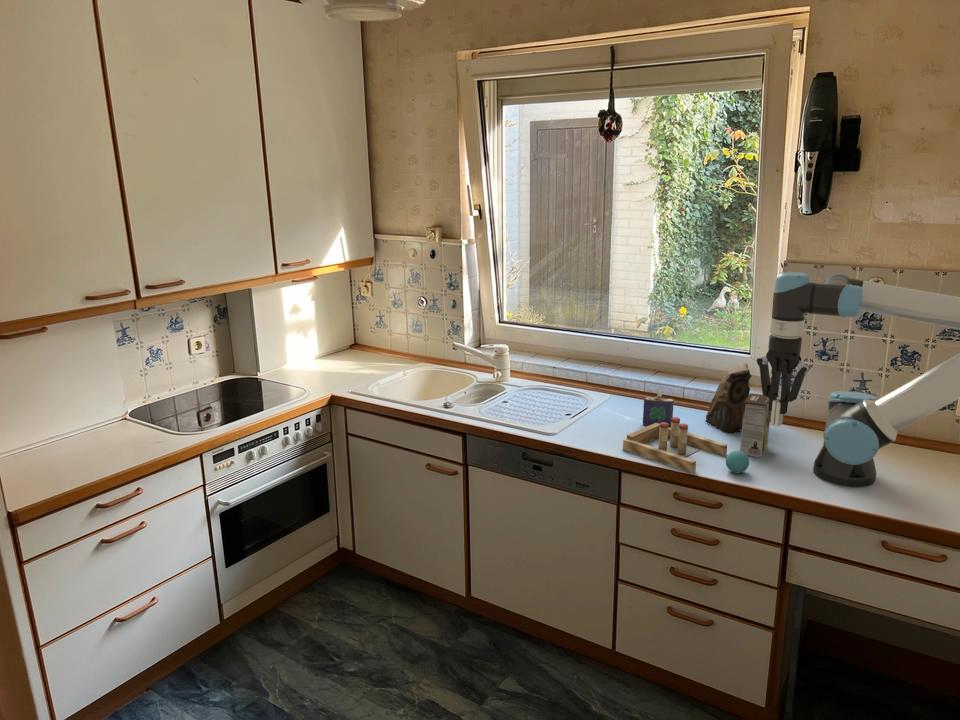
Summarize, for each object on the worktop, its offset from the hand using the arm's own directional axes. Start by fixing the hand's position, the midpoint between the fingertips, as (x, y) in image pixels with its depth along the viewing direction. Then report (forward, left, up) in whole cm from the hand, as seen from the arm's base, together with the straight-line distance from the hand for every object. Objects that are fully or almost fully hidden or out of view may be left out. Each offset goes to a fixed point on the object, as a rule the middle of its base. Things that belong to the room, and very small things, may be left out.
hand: (776, 424), depth 188 cm
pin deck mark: (+29, 0, -16) cm, 33 cm away
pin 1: (+31, +3, -16) cm, 35 cm away
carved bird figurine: (+29, -30, -17) cm, 46 cm away
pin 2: (+31, -3, -16) cm, 35 cm away
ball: (+9, 0, -13) cm, 16 cm away
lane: (+28, 0, -16) cm, 33 cm away
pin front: (+26, 0, -16) cm, 31 cm away
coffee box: (+13, -17, -17) cm, 28 cm away
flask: (+44, -14, -17) cm, 50 cm away
